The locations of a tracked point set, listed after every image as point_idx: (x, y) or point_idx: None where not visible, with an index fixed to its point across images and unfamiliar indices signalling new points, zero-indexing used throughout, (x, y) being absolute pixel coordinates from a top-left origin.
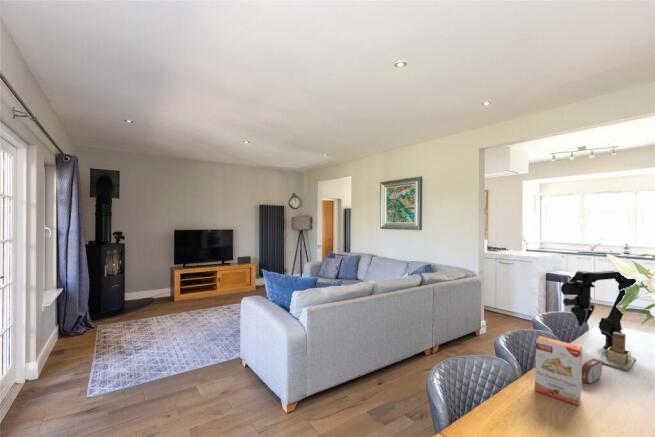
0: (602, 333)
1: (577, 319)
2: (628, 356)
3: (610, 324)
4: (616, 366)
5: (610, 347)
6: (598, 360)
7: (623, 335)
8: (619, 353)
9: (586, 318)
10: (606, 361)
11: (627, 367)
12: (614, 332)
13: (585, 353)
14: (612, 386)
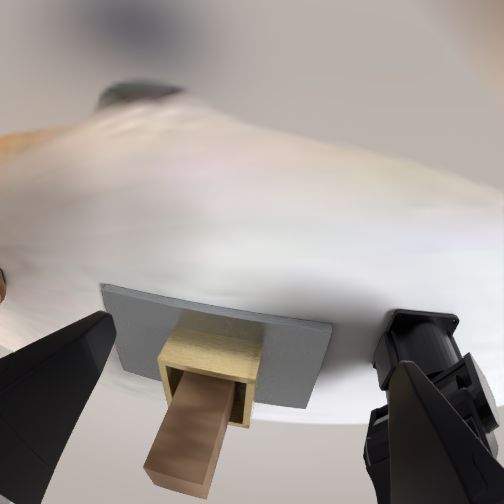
0: (465, 361)
1: (13, 356)
2: None
3: (384, 493)
4: (116, 344)
5: (229, 379)
6: (106, 295)
7: (161, 486)
8: (165, 393)
9: (402, 442)
10: (128, 322)
11: (142, 372)
12: (177, 479)
13: (188, 233)
14: (4, 307)
